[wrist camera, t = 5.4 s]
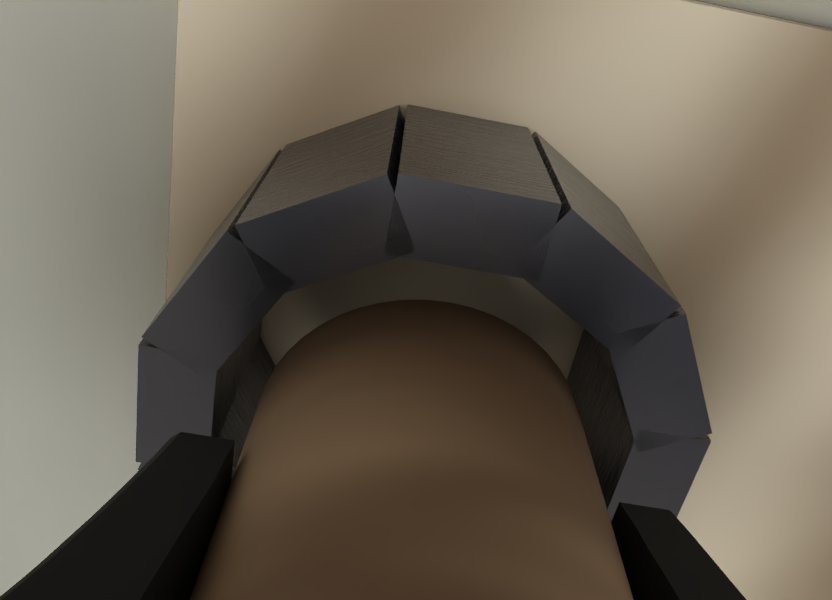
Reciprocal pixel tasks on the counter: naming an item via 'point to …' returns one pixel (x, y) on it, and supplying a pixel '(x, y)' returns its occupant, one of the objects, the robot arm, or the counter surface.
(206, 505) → the robot arm
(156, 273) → the counter surface
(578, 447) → the plug
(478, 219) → the sleeve
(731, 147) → the board
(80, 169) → the counter surface
